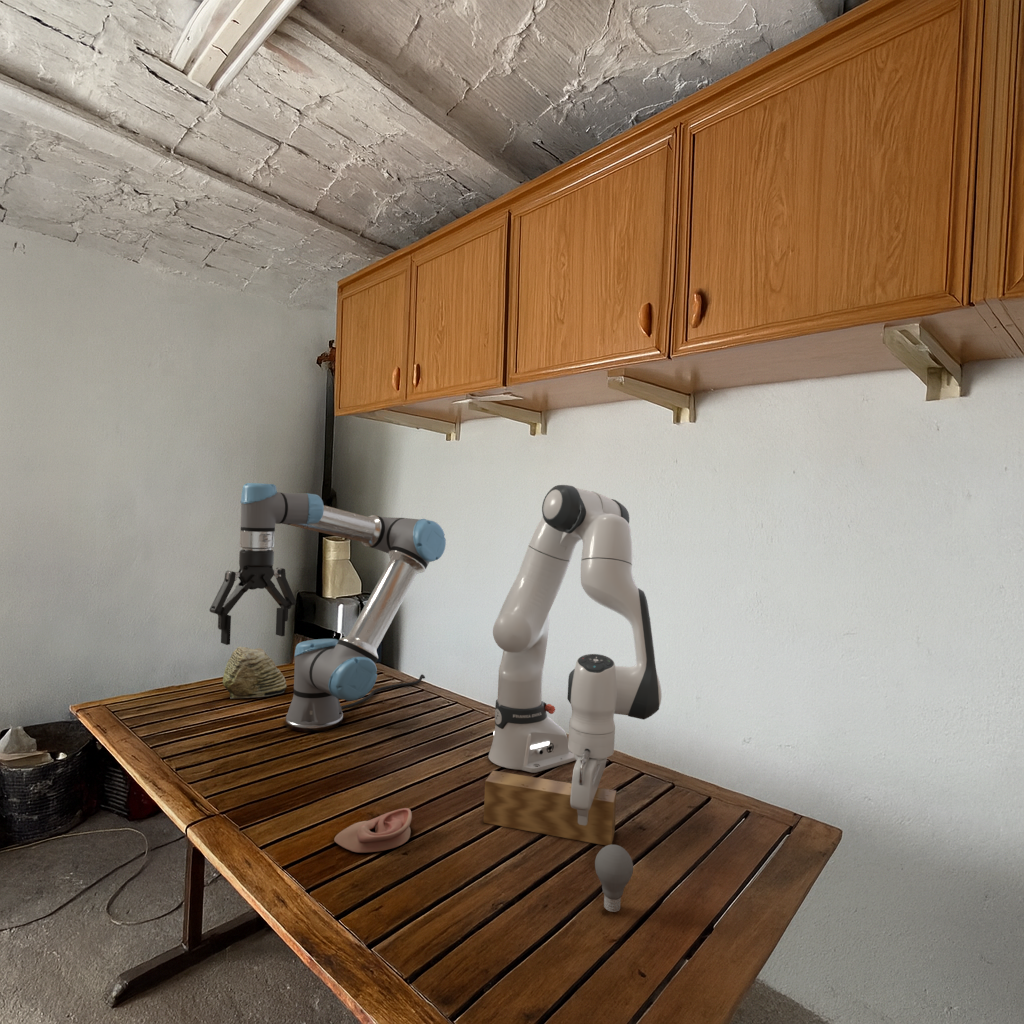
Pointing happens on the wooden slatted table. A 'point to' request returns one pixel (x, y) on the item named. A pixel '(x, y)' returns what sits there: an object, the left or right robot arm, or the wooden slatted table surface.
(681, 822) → the wooden slatted table surface
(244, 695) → the fossil
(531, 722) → the right robot arm
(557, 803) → the bar
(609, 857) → the light bulb
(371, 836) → the anatomical model
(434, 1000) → the wooden slatted table surface
